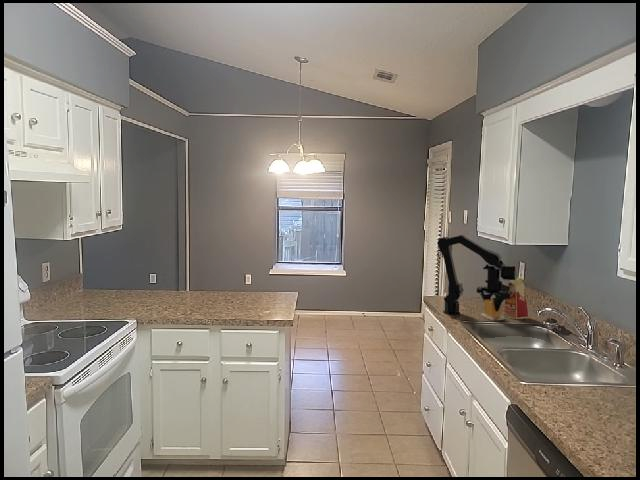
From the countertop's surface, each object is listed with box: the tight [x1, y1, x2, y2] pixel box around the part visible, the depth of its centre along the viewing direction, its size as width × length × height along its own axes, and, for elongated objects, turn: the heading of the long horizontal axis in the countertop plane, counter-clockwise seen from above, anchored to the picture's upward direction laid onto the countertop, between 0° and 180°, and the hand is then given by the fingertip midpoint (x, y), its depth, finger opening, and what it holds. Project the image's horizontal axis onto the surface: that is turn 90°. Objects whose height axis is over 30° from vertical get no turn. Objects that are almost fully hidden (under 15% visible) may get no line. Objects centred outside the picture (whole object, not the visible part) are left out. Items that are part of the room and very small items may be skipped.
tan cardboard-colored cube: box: [483, 298, 502, 317], centre depth 234 cm, size 6×6×8 cm
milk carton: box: [503, 276, 530, 320], centre depth 235 cm, size 9×9×20 cm
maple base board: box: [480, 313, 506, 322], centre depth 234 cm, size 7×9×1 cm
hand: (492, 309), depth 234 cm, fingers open, 6 cm apart
